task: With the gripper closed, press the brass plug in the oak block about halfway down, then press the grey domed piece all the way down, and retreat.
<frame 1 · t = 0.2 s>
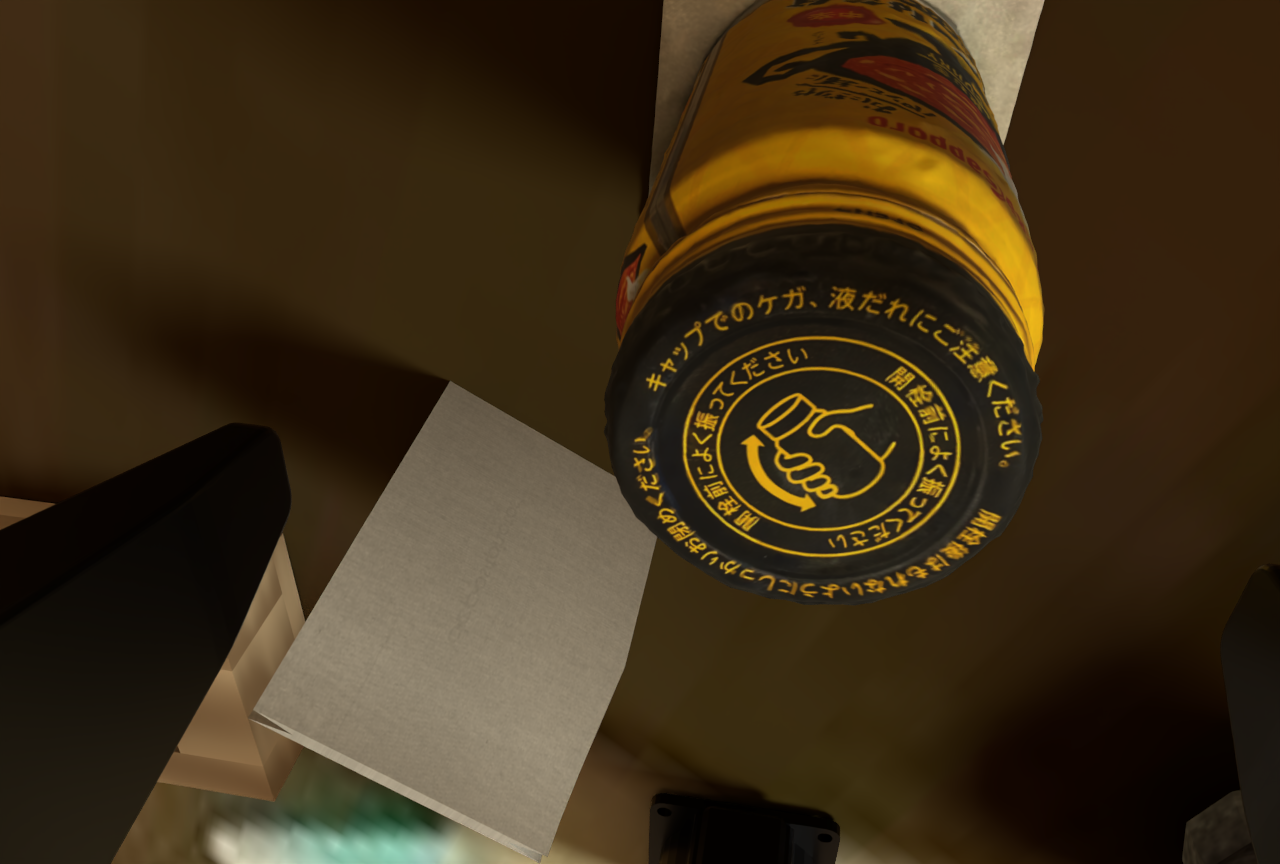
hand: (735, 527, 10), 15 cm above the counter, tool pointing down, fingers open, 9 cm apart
condiment: (820, 158, 23), on the counter
oak block: (32, 585, 36), on the counter
white printed box: (531, 481, 29), on the counter
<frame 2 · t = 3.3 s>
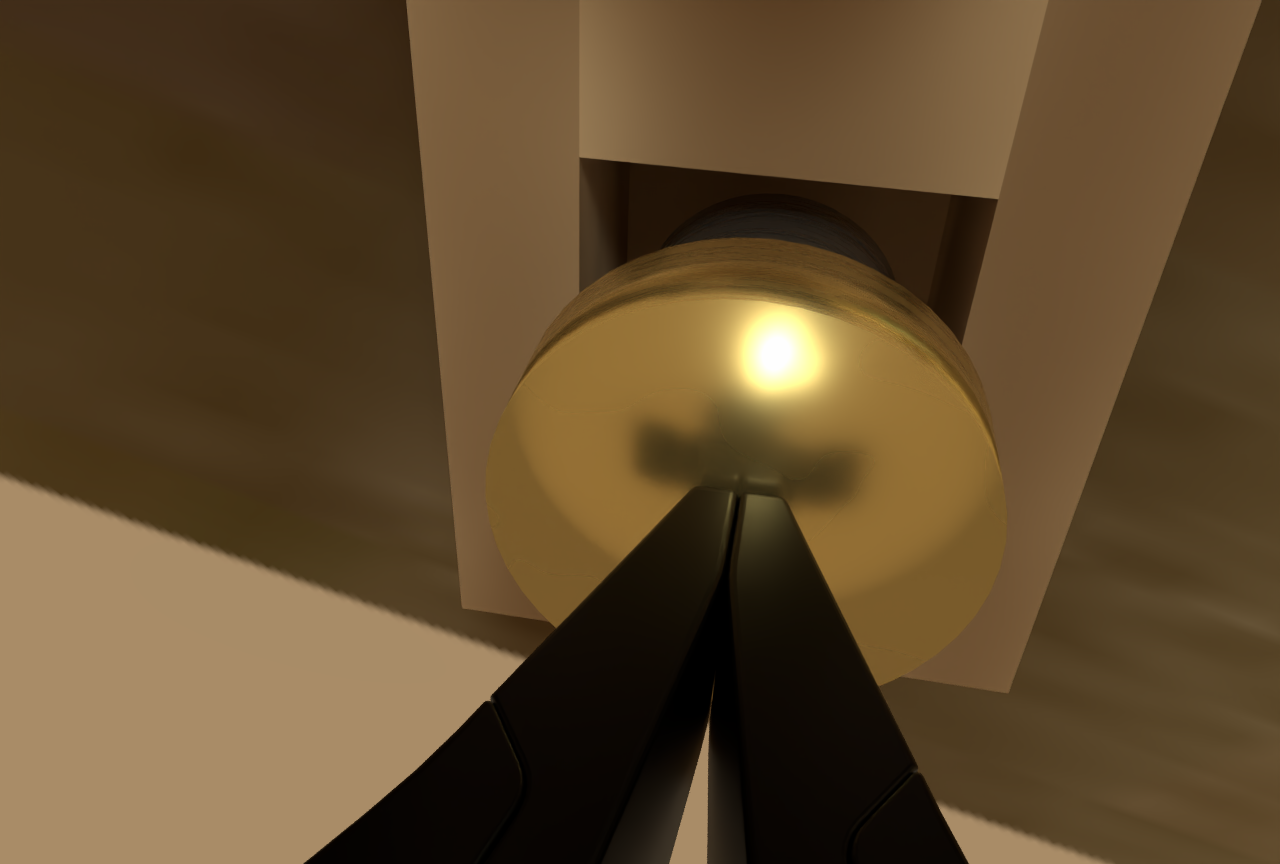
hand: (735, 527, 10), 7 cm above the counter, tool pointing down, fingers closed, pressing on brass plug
brass plug: (754, 406, 11), point 5 cm above the counter, slide at 0.6 cm, touching gripper
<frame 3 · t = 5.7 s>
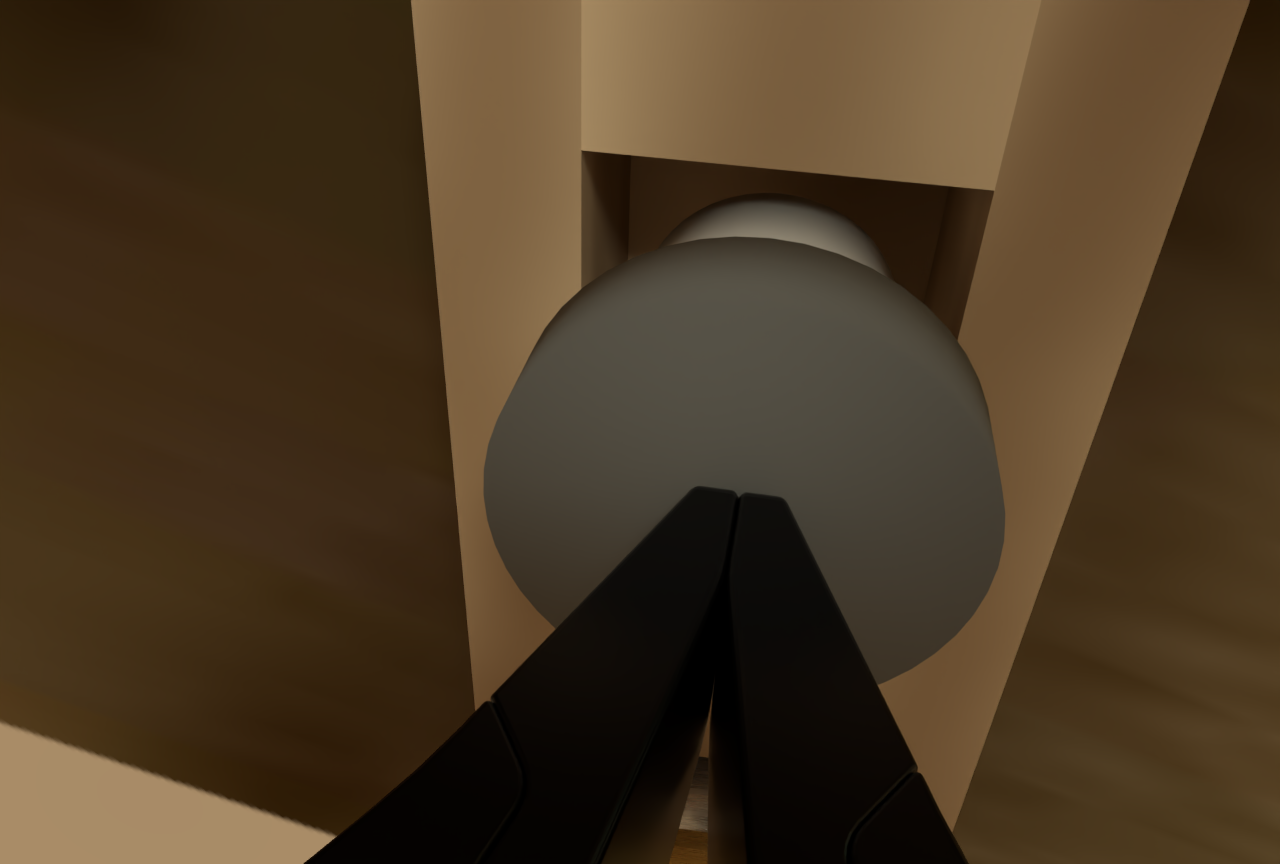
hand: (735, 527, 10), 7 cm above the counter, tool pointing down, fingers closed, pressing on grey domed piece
grey domed piece: (752, 405, 11), point 5 cm above the counter, slide at 0.4 cm, touching gripper
oak block: (750, 475, 18), on the counter
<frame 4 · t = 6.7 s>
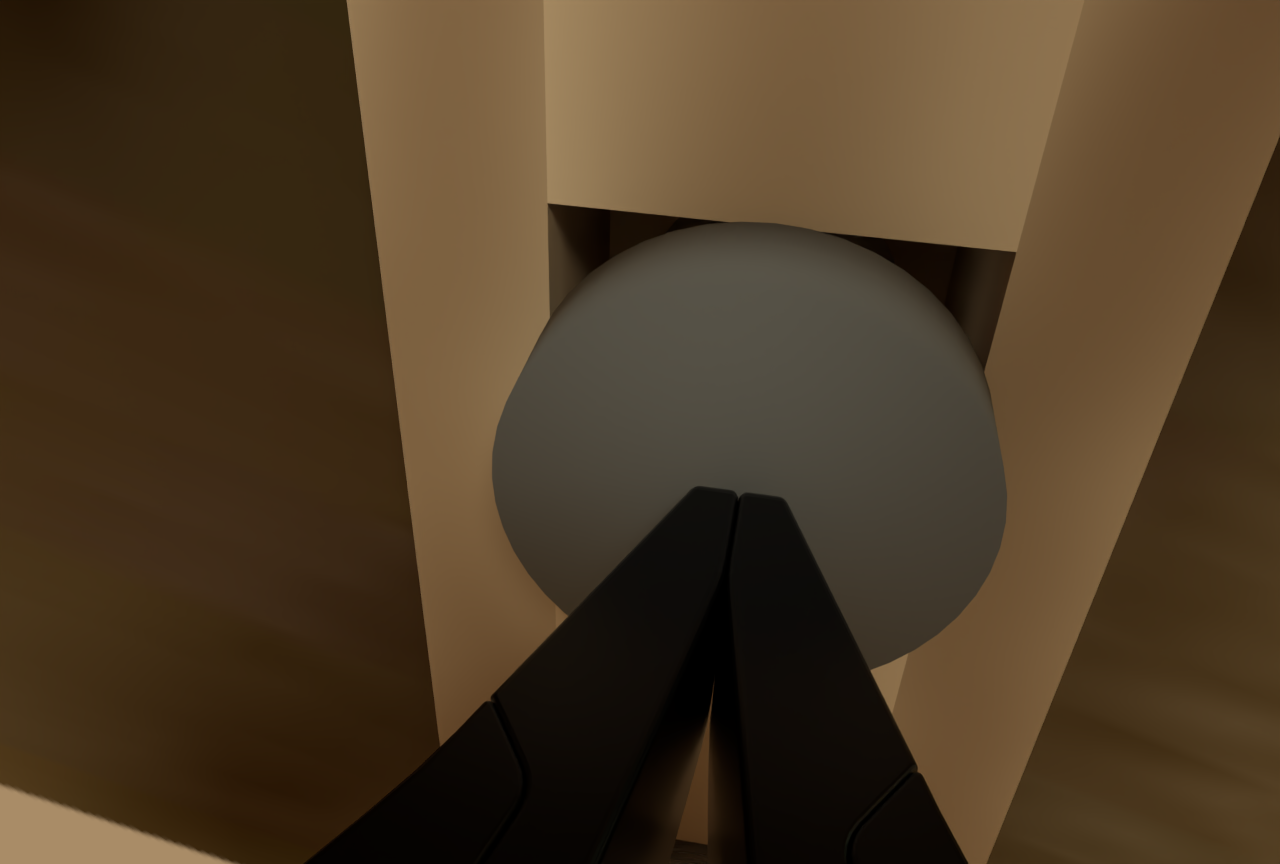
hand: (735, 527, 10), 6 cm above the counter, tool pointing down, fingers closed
grey domed piece: (756, 391, 11), point 3 cm above the counter, slide at 2.2 cm
oak block: (744, 530, 17), on the counter
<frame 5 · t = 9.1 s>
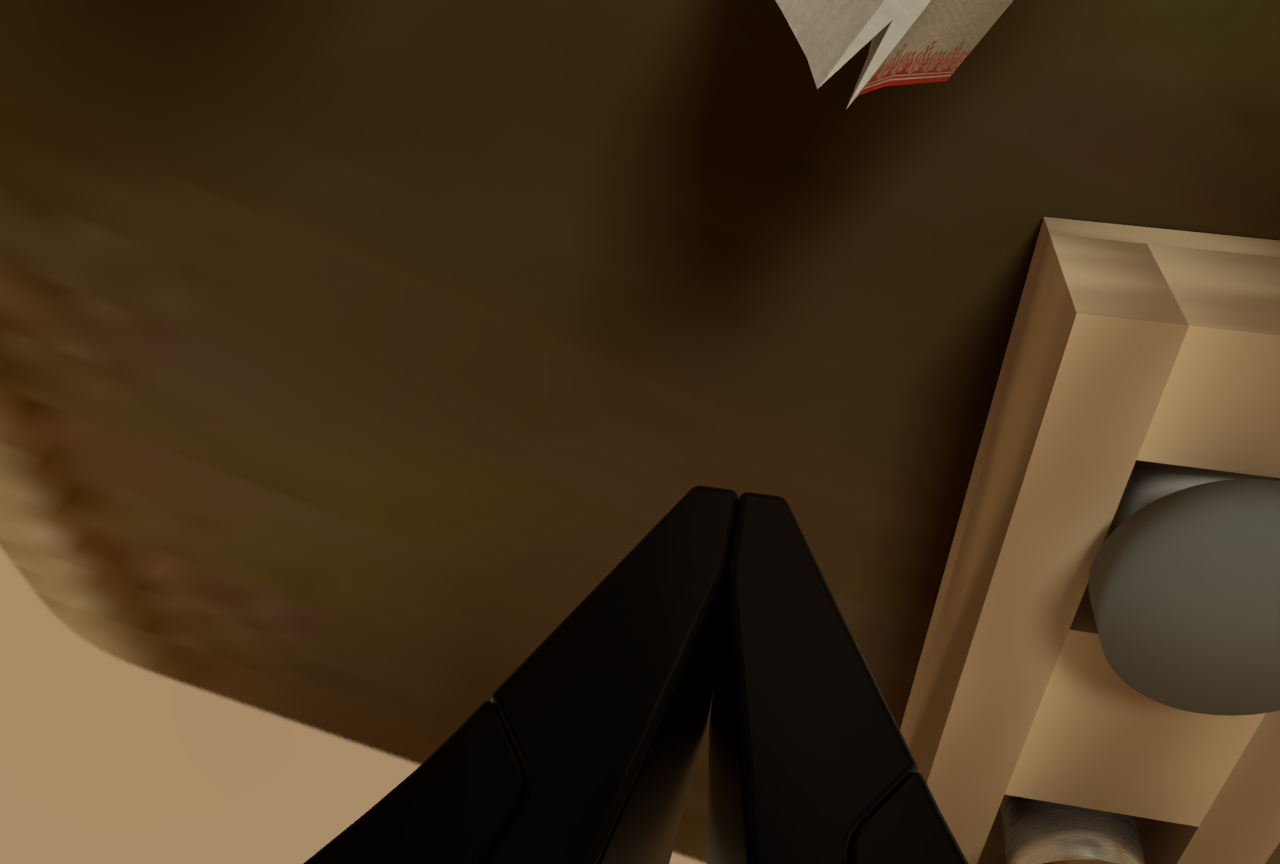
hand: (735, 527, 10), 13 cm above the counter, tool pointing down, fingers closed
grey domed piece: (1212, 548, 20), point 3 cm above the counter, slide at 2.2 cm
oak block: (1104, 605, 26), on the counter
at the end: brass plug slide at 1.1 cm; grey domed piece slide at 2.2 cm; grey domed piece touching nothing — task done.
